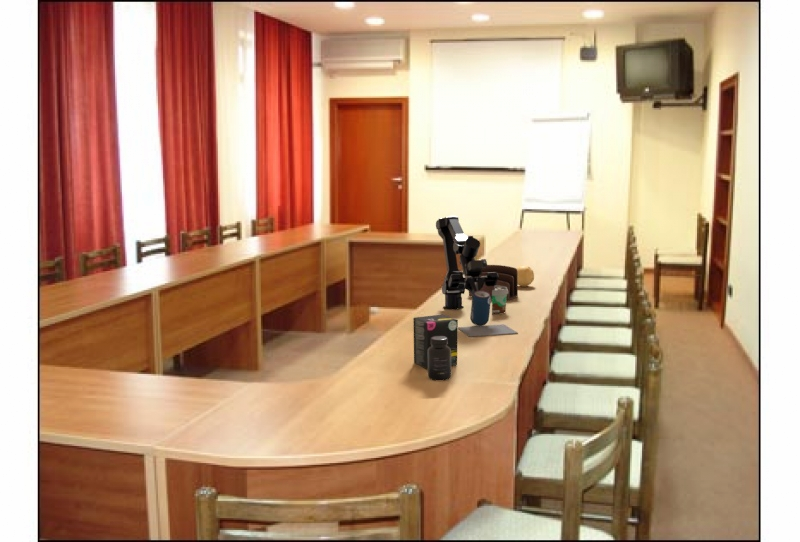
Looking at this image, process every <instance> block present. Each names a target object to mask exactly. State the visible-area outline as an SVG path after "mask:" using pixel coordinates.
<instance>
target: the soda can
mask: <svg viewBox="0 0 800 542" xmlns="http://www.w3.org/2000/svg"><path fill="white" fill-rule="evenodd" d="M491 304H492V299H491V297H490V293H489V292H487V291H483V290H478V291H475V293H474V295H473V297H471V307H470V318H469V319H470V321H471V323H472V324H473V325H474V326H486V324H488V322H489V320H490V312H491V311H490V310H491Z"/></svg>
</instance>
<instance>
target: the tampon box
mask: <svg viewBox="0 0 800 542" xmlns="http://www.w3.org/2000/svg"><path fill="white" fill-rule="evenodd" d="M412 319H413V321H412V322H413V364H416V365H417V366H420V367H422V368H423V369H425V370H427V371H428V348H429V347H430V346H432V345H431V337H433V336H445V337H447V342H448V344H447V346H449V347H450V349H451V367H455V366H456V365H457V366H458V330H459V329H458V323H459V321H458V319H456V318H453V317H451V316H449V315H445V314H435V315H425V316H417V317H413V318H412Z"/></svg>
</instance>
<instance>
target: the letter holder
mask: <svg viewBox="0 0 800 542" xmlns="http://www.w3.org/2000/svg"><path fill="white" fill-rule="evenodd" d="M481 271H482V273H481V274H480V276H486V275H487V272H497V273H498V276H499V278H498V280H497V283H496V285H497V286H504V287H507V289H508V294H507V297H506V301H511V300H514V299H516V298H517V297H518V295H519V294H518V293H519V292H518V291H519V288H518V286H519V285H518V280H517V278H518V277H517V276H518V274H517V268H516V267H512V266H507V265H501V264H487V267H486V268H483V269H482V270H481ZM475 286H476V284H475ZM493 289H494V286H486V285H485V282H484V285H483V287H482V288H481V290H483V291H487V292H489V293H490V297H491V300H492V290H493ZM469 296H473V294H472V293H471V292H469V291H468V297H469Z"/></svg>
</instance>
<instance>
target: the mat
mask: <svg viewBox="0 0 800 542" xmlns="http://www.w3.org/2000/svg"><path fill="white" fill-rule="evenodd" d="M458 330H460V331H461V332H462V333H464V335H466V336H468V337H469V338H475V337H476V336H480V337H489V336H488V335H494V336H505V335H504V334H508V335H518V333H519V332H518V331H516V330H514V329H513V328H510V327H509V326H507V325H506V324H504V323H503V324H492V325H491V324H489V325H483V326H478V325H474V326H460V327H458ZM476 338H477V337H476Z"/></svg>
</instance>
